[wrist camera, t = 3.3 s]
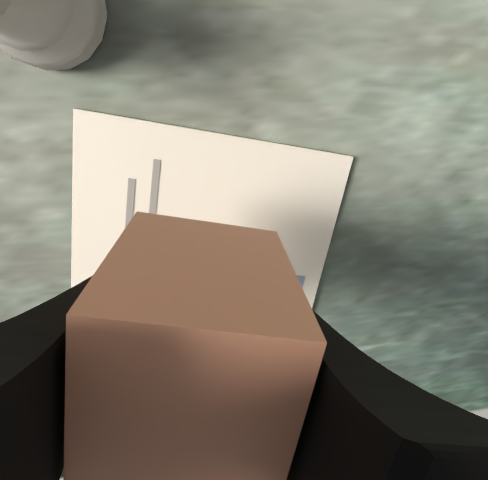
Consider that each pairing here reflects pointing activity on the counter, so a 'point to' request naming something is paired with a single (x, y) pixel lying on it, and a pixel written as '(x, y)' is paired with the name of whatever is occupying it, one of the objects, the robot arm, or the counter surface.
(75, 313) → the block
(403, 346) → the counter surface
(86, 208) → the letter
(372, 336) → the counter surface
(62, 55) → the rook chess piece
